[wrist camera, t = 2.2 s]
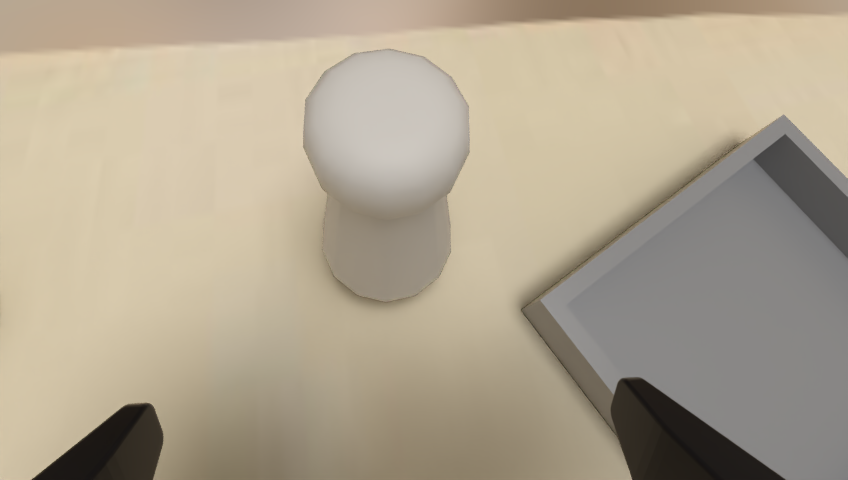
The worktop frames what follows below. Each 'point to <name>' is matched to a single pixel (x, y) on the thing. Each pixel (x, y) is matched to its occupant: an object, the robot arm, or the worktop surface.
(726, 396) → the tray
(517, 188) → the worktop surface
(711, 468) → the robot arm
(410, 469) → the worktop surface
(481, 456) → the worktop surface
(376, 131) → the salt shaker
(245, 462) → the worktop surface
